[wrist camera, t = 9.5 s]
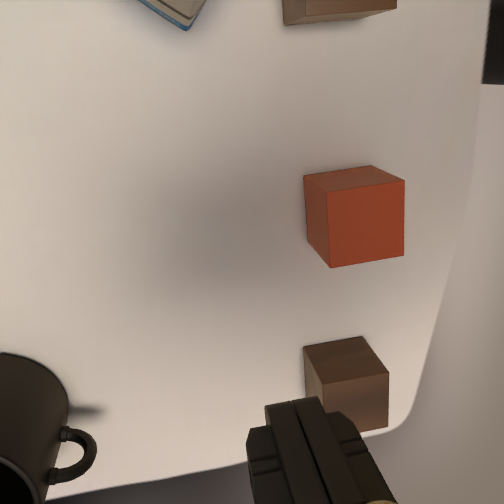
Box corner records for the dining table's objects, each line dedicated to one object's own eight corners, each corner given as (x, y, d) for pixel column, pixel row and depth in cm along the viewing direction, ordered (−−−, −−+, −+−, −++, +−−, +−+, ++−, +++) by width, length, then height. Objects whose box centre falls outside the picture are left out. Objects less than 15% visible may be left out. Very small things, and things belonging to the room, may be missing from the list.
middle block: (303, 175, 33) (325, 192, 28) (371, 165, 33) (405, 180, 29) (308, 242, 34) (330, 269, 30) (372, 231, 35) (404, 255, 30)
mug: (101, 456, 38) (83, 564, 30) (-65, 457, 35) (-135, 575, 27) (108, 356, 35) (90, 445, 27) (-74, 349, 32) (-156, 445, 24)
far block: (303, 346, 38) (322, 384, 33) (362, 335, 38) (389, 372, 34) (306, 397, 39) (324, 440, 35) (363, 386, 40) (388, 427, 35)
